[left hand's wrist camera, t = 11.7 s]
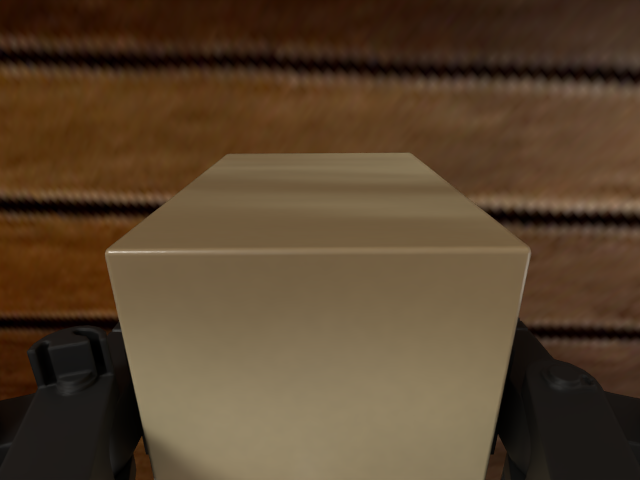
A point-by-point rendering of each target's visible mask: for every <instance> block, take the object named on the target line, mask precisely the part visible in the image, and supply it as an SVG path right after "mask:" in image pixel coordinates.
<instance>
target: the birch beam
mask: <svg viewBox="0 0 640 480" xmlns="http://www.w3.org/2000/svg"><path fill="white" fill-rule="evenodd" d="M530 256H531V250H530V247H529V246H528V245H526V244H525V243H524V242H522V241H521V240H520V239H519V238H517V237H516V236H515V235H514V234H512V233H511V232H510V231H509V230H507V229H506V228H505V227H504V226H502V225H501V224H500V223H498V222H497V221H496V220H495V219H493V218H492V217H491V216H490V215H488V214H487V213H486V212H485V211H483V210H482V209H481V208H480V207H478V206H477V205H476V204H474V203H473V202H472V201H471V200H469V199H468V198H467V197H466V196H464V195H463V194H462V193H461V192H459V191H458V190H457V189H455V188H454V187H453V186H452V185H450V184H449V183H448V182H447V181H445V180H444V179H443V178H442V177H440V176H439V175H438V174H437V173H435V172H434V171H433V170H431V169H430V168H429V167H428V166H426V165H425V164H424V163H423V162H421V161H420V160H419V159H418V158H416V157H415V156H414V155H413V154H411V153H313V154H227V155H226V156H224V157H223V158H222V159H221V160H219V161H218V162H217V163H215V164H214V165H213V166H212V167H210V168H209V169H208V170H207V171H205V172H204V173H203V174H202V175H200V176H199V177H198V178H196V179H195V180H194V181H193V182H191V183H190V184H189V185H188V186H186V187H185V188H184V189H183V190H181V191H180V192H179V193H177V194H176V195H175V196H174V197H172V198H171V199H170V200H169V201H167V202H166V203H165V204H163V205H162V206H161V207H160V208H158V209H157V210H156V211H155V212H153V213H152V214H151V215H150V216H148V217H147V218H146V219H144V220H143V221H142V222H141V223H139V224H138V225H137V226H136V227H134V228H133V229H132V230H131V231H129V232H128V233H127V234H125V235H124V236H123V237H122V238H120V239H119V240H118V241H117V242H115V243H114V244H113V245H111V246H110V247H109V248H108V249H106V253H105V258H106V262H107V267H108V271H109V276H110V280H111V285H112V289H113V294H114V298H115V303H116V308H117V312H118V317H119V321H120V326H121V330H122V335H123V339H124V344H125V348H126V353H127V358H128V362H129V367H130V371H131V376H132V380H133V385H134V389H135V394H136V399H137V403H138V408H139V412H140V417H141V421H142V426H143V430H144V435H145V439H146V444H147V449H148V453H149V458H150V462H151V467H152V471H153V476H154V480H485V478H486V473H487V468H488V463H489V458H490V453H491V448H492V443H493V438H494V433H495V428H496V424H497V419H498V414H499V409H500V404H501V399H502V394H503V389H504V384H505V379H506V374H507V369H508V365H509V360H510V355H511V350H512V345H513V340H514V335H515V330H516V325H517V320H518V315H519V310H520V306H521V301H522V296H523V291H524V286H525V281H526V276H527V271H528V266H529V261H530Z"/></svg>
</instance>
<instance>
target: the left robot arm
mask: <svg viewBox="0 0 640 480" xmlns="http://www.w3.org/2000/svg"><path fill="white" fill-rule="evenodd" d="M27 354H28V357H29V360H30V364H31V367H32V370H33V373H34V376H35V379H36V383H37V386H38V389H37V391H36V393H33V394H29V395H25V396H20V397H15V398H10V399H6V400H1V401H0V480H135V476H136V464H135V459H134V454H133V452H134V450H135V448H136V446H137V444H138V442H139V440H140V438H141V436H142V437H143V442H144V447H145V451H146V454H149V453H148V449H147V444H146V439H145V435H144V430H143V426H142V421H141V417H140V412H139V408H138V403H137V399H136V394H135V389H134V385H133V380H132V376H131V371H130V367H129V362H128V358H127V353H126V348H125V344H124V339H123V335H122V330H121V326H120V322H118V324H117V325H116V326H115V327H114V328H113V329H112V332H110V333H109V334H108V335H106V332H105V331H104V330H102V329H101V328H100V327H95V326H90V325H89V326H75V327H71V328H66V329H62V330H59V331H57V332H54V333H52V334H49V335H47V336H45V337H44V338H42V339H41V340H39V341H37V342H36V343H34V344H33V345H32V347H31V348H30V349H29V350H28V351H27ZM498 435H499V437H500V439H501V441H502V442H503V444H504V446H505V448H506V450H507V454H506V459H505V463H504V468H503V472H502V476H501V480H640V399H638V398H633V397H629V396H624V395H619V394H614V393H610V392H606V391H603V389H602V387H601V386H600V384H599V383H598V382H597V380H596V379H595V378H594V377H593V376H591V375H590V374H588V373H587V372H586V371H584V370H583V369H581V368H578V367H576V366H574V365H572V364H570V363H566V362H563V361H559V360H555V359H553V357H552V356H551V355H550V354H549V353H548V352H547V350H546V349H545V348H544V347H543V346H542V344H541V343H540V342H539V341H538V340H537V339H536V337H535V336H534V335H533V334H532V333H531V332H530V331H528V328H527V327H526V326H525V324H524V323H523V322H522V321H520V319H519V317H518V320H517V325H516V330H515V335H514V340H513V345H512V350H511V355H510V360H509V365H508V369H507V374H506V379H505V384H504V389H503V394H502V399H501V404H500V409H499V414H498V419H497V424H496V428H495V433H494V438H493V443H492V448H491V453H490V454H494V450H495V445H496V441H497V436H498Z"/></svg>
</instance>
